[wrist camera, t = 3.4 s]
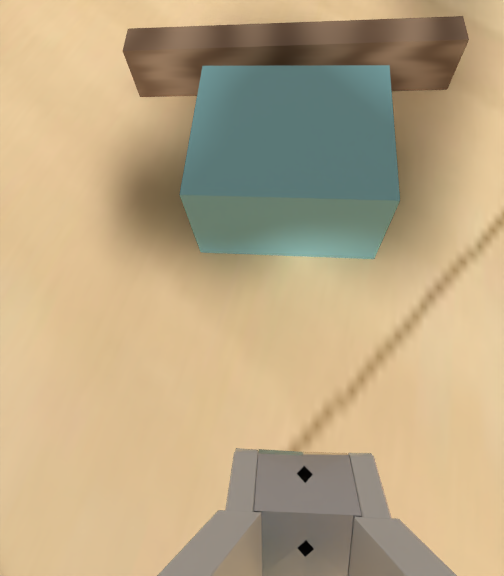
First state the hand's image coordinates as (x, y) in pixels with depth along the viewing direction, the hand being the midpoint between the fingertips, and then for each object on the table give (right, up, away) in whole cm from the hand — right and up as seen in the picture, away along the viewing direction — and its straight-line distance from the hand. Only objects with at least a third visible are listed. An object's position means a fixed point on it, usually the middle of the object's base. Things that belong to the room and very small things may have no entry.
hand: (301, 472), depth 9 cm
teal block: (+2, +12, +27) cm, 29 cm away
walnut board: (+3, +25, +32) cm, 40 cm away
